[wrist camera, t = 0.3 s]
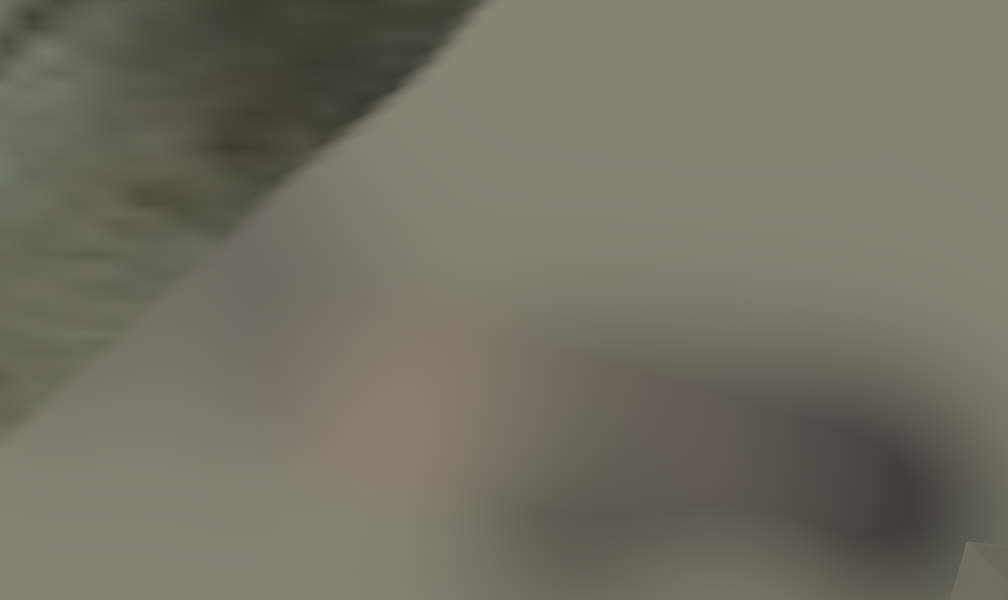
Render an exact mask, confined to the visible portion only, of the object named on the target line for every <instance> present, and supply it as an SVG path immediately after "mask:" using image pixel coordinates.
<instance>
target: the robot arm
mask: <svg viewBox="0 0 1008 600" xmlns="http://www.w3.org/2000/svg"><path fill="white" fill-rule="evenodd" d="M951 600H1008V547H1007V546H999V545H990V544H982V543H975V542H967V544H966V547H965V551H964V554H963V558H962V561H961V565H960V568H959V572H958V575H957V579H956V582H955V586H954V589H953V593H952V596H951Z"/></svg>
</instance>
